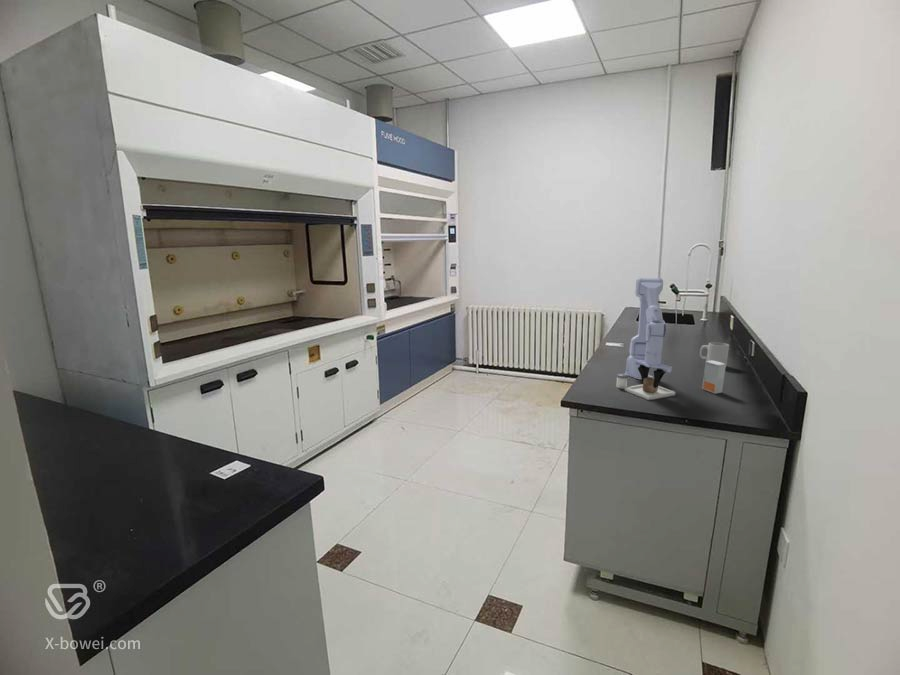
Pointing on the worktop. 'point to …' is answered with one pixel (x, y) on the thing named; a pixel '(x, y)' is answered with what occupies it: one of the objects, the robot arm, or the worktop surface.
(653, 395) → the tray
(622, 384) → the sample jar
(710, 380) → the skincare box
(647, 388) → the walnut block
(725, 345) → the mug
